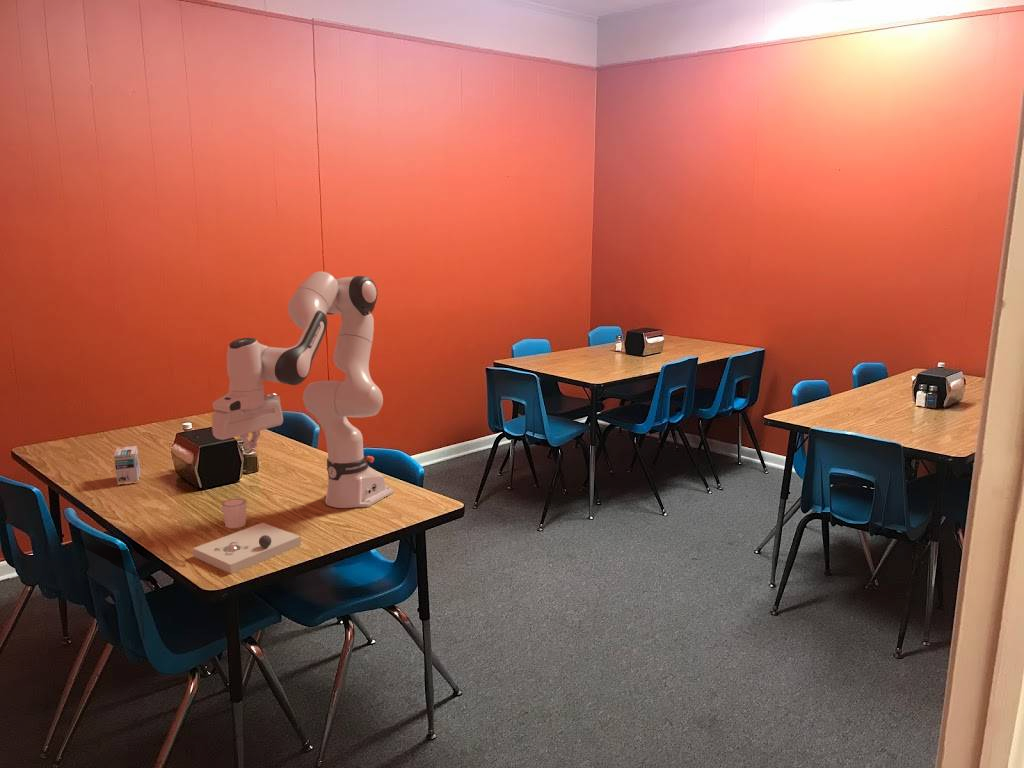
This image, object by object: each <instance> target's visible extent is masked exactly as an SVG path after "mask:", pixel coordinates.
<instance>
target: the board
mask: <svg viewBox="0 0 1024 768" xmlns="http://www.w3.org/2000/svg"><path fill="white" fill-rule="evenodd" d="M264 535H267V536H269V537H270V538H271V544H270V545H269V546H268V547H261V546H260V544H259V539H260V538H261V537H262V536H264ZM232 545H234V546H237V547H238V549H239V550H237V551H235V552H226V550H227V548H228V547H229V546H232ZM301 545H302V538H301V535H297V534H294V533H293V532H290V531H286V530H285V529H281V528H279V527H276V526H273V525H270V524H268V523H265V522H260V523H258V524H255V525H253V526H249V527H246V528H245V529H244V528H243V529H242V530H238V531H236V532H234V533H230V534H228V535H225V536H222V537H220V538H217V539H214V540H212V541H209V542H206V543H203V544H201V545H197V546H196V547H193V548H192V551H193V553H192V554H193V558H195V559H197V560H200V561H202V562H204V563H206V564H209V565H210V566H213V567H216V568H217V569H220V570H221V571H224V572H226V573H229V574H230V575H231V574H232V575H233V574H235V573H237V572H239V571H242V570H244V569H246V568H249V567H251V566H254V565H256V564H259V563H261V562H263V561H265V560H268V559H270V558H273V557H275V556H278V555H280V554H283V553H285V552H287V551H289V550H293V549H296V548H297V547H300V546H301Z"/></svg>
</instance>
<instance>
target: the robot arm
mask: <svg viewBox="0 0 1024 768" xmlns="http://www.w3.org/2000/svg"><path fill="white" fill-rule="evenodd" d="M377 300H378V288H377V285H376V283H375V282H374V280H373V279H372V278H370V277H368V276H365V275H356V276H348V277H347V276H344V277H340V278H337V279H336V278H335V276H333V275H332V274H331V273H329V272H326V271H322V270H321V271H320V270H319V271H316V272H314V273H312V274H311V275H310V276H308V278H306V279H305V280H304V281H303V282H302V283H301V285H299V287H298V288H297V289H296V290H295V291H294V293H293V294H292V295H291V296H290V298H289V301H288V304H287V314H288V316H289V317H290V319H291V321H292V322H293V323H294V324H295V326H296V327H298V328H300V329H301V330H303V331H302V333H301V335H300V337H299V339H298V340H297V343H296V344H295V345H293V346H291V347H277V346H276V347H275V346H268V345H265V344H262V343H260V342H259V341H258V340H257V339H256V338H254V337H243V338H237V339H234V340H232V341H231V342H230V343H229V344H228V347H227V351H226V369H227V376H228V378H229V386H228V392H227V393H226V394H225V395H223V396H221V397H220V398H217V399H216V400H214V401H213V402H212V408H213V410H215V411H214V412H213V413H212V419H211V425H212V426H211V429H212V435H213V437H214V438H215V439H218V440H221V441H224V440H228V439H231V438H235V437H239V438H240V440H242V442H243V446H244V447H243V448H244V449H245V450H249V449H253V448H256V447H258V440H259V438H260V435H261V431H263V430H267V429H271V428H275V427H278V426H281V425H282V424H283V423H284V415H283V410H282V405H281V397H280V396H279V394H277V393H274V392H273V393H269V394H265V393H264V392H265V391H264V384H263V382H271V383H282V384H284V385H289V386H298V385H300V384H302V383H303V382H304V381H305V380H306V379H307V378H308V376H309V375H310V372H311V367H312V363H313V360H314V358H315V356H316V353H317V351H318V350H319V348H320V344H321V343H322V340H323V339H324V336H325V334H326V331H327V328H328V318H327V315H330V316H331V315H336V314H337V315H338V314H340V317H341V324H340V327H339V330H338V333H337V334H338V335H337V338H336V343H335V346H334V347H335V348H334V352H333V356H332V358H333V362H334V364H335V366H336V368H338V369H339V370H340V371H342V372H343V373H345V378H344V380H343V381H340V380H327V379H326V380H318V381H313V382H310V383H308V384H307V386H306V387H305V389H304V390H303V394H302V403H303V405H304V408H305V409H306V410H307V412H309V413H311V414H312V415H313V416H314V417H315V419H316V420H317V421H318V423H319V424H320V426H321V428H322V430H323V432H324V436H325V439H326V450H327V459H326V470H327V474H328V476H327V477H328V478H327V488H326V489H327V490H326V497H325V500H324V504H326V505H327V506H328V507H332V508H337V509H350V508H367V507H368V508H369V507H370V506H372V505H375V504H376V503H377V502H380V501H381V500H383V499H385V498H386V496H387V497H389V496H390V495H392V494H393V493H394V490H393V488H391V486H388V485H386V480H385V476H384V475H383V474H382V473H380V472H379V471H377V470H376V469H374V468H372V467H370V465H369V463H371V464H372V463H373V462H374V461H375V458H374V457H373V455H372V456H370V455H367V456H366V455H364V438H363V434H362V432H361V430H359V428H357V427H356V426H355V425H353V424H352V423H351V422H350V421H349V419H348V418H368V417H375V416H376V415H378V414H379V412H380V411H381V410H382V407H383V404H384V396H383V393H382V390H381V388H379V386H378V385H377V384H376V383H375V382H374V381H373V379H372V377H371V374H370V357H371V351H372V347H373V341H374V332H375V329H374V328H375V319H374V316H373V314H372V312H373V311H374V310H375V306H376V304H377ZM249 434H252V436H251V439H250V440H249V439H248V438H249ZM384 497H385V498H384Z"/></svg>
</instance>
